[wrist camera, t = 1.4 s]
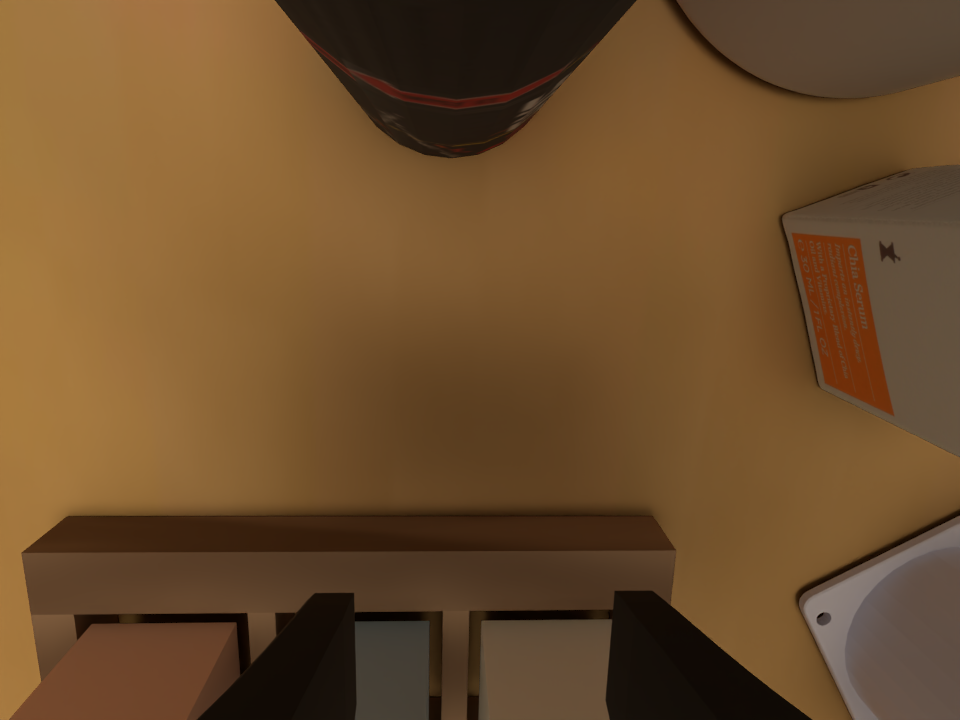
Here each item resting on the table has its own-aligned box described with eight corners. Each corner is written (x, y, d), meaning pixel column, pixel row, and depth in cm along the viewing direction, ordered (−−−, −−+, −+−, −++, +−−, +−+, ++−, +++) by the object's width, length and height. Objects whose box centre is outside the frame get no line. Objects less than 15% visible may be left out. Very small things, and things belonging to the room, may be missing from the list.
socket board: (631, 740, 23) (650, 794, 21) (98, 751, 22) (61, 809, 20) (653, 516, 21) (676, 550, 19) (66, 516, 20) (21, 553, 18)
